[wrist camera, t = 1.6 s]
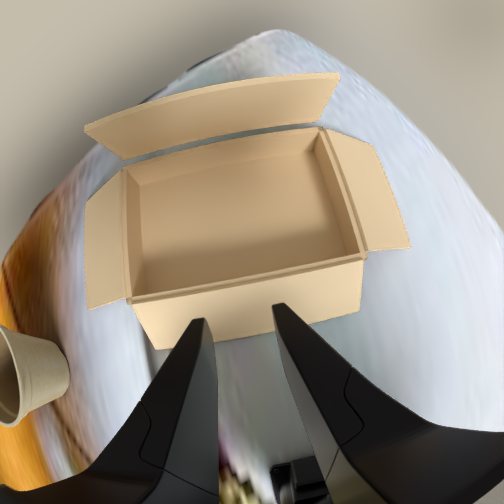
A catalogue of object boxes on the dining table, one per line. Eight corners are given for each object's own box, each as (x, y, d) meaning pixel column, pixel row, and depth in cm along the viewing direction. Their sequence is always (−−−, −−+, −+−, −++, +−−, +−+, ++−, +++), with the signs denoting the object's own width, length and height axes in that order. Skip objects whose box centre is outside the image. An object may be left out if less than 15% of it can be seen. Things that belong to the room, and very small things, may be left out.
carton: (420, 292, 22) (444, 286, 18) (95, 354, 21) (71, 357, 18) (370, 143, 25) (382, 121, 22) (87, 200, 25) (67, 184, 21)
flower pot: (16, 339, 22) (-38, 335, 13) (62, 310, 22) (0, 300, 14) (44, 416, 19) (-9, 430, 11) (96, 399, 20) (38, 420, 12)
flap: (317, 121, 22) (340, 78, 15) (124, 160, 21) (83, 131, 14) (315, 116, 22) (338, 72, 14) (124, 155, 21) (84, 125, 14)
